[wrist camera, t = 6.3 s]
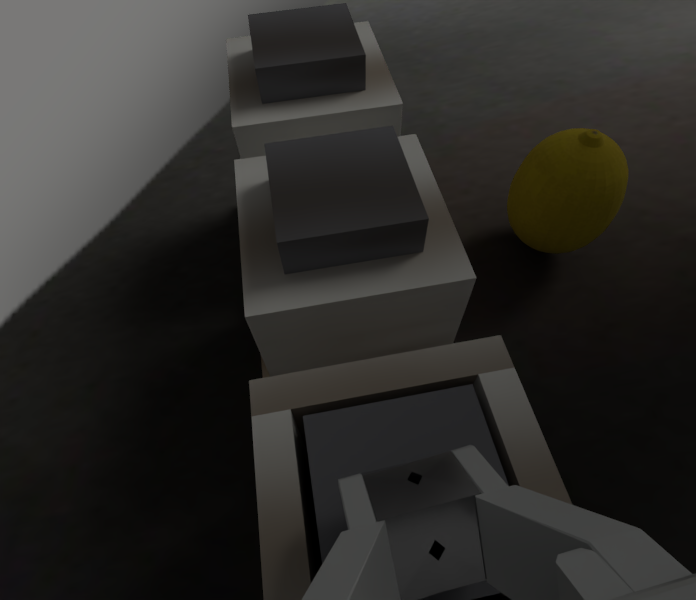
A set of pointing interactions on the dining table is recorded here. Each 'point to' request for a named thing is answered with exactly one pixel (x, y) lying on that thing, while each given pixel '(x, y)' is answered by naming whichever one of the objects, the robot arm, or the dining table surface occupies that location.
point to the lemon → (567, 190)
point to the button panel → (347, 270)
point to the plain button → (392, 452)
